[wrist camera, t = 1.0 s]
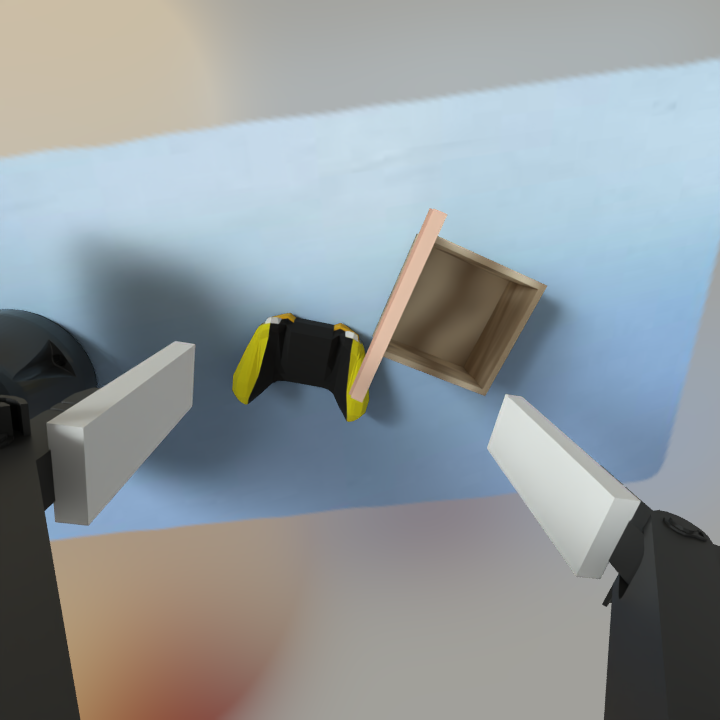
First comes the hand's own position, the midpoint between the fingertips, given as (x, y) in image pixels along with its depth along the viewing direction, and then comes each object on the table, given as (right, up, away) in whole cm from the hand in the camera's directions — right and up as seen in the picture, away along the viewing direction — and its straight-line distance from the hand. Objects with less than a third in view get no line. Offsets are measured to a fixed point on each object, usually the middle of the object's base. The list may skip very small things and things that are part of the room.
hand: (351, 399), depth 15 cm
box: (+10, +8, +26) cm, 29 cm away
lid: (+4, +6, +12) cm, 14 cm away
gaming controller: (-6, +2, +27) cm, 28 cm away
